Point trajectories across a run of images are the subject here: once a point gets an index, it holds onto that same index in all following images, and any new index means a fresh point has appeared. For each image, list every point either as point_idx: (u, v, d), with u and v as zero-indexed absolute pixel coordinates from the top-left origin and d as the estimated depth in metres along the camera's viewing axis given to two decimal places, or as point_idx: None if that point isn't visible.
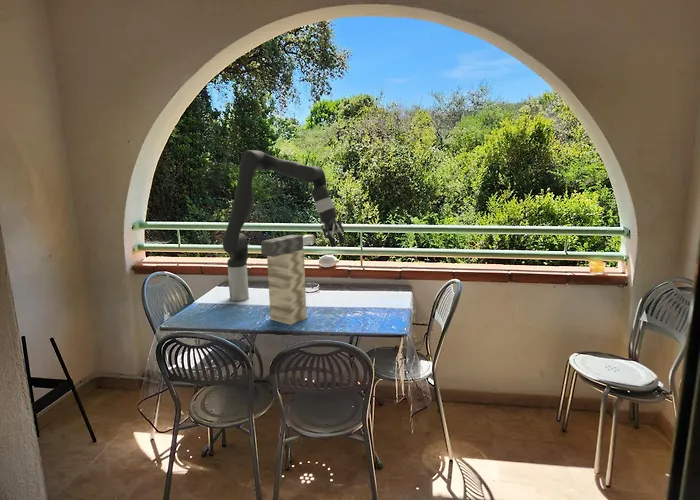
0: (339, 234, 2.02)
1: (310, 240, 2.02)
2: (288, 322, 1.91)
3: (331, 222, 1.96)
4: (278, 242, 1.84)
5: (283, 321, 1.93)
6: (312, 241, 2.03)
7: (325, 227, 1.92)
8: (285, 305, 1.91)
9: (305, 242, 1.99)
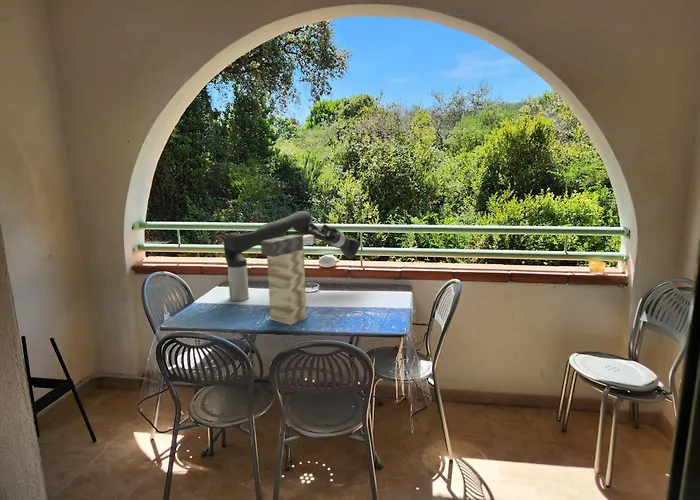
0: (315, 228, 2.25)
1: (310, 240, 2.02)
2: (288, 322, 1.91)
3: (329, 235, 2.27)
4: (278, 242, 1.84)
5: (283, 321, 1.93)
6: (312, 241, 2.03)
7: (337, 234, 2.23)
8: (285, 305, 1.91)
9: (305, 242, 1.99)
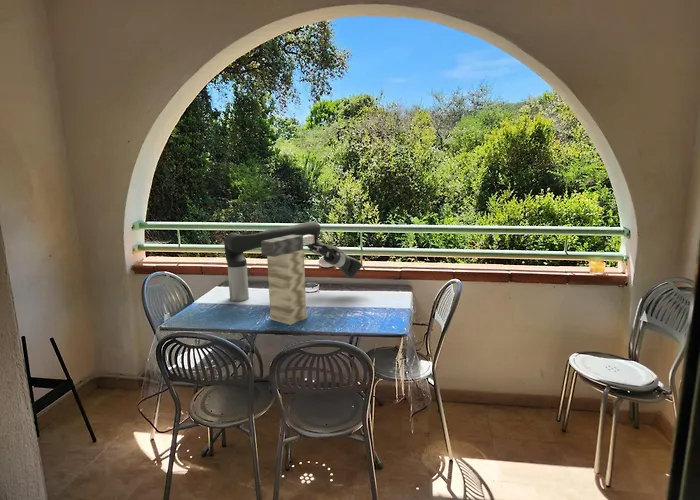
0: (313, 248, 2.13)
1: (310, 240, 2.02)
2: (288, 322, 1.91)
3: (329, 255, 2.15)
4: (278, 242, 1.84)
5: (283, 321, 1.93)
6: (312, 241, 2.03)
7: (337, 255, 2.11)
8: (285, 305, 1.91)
9: (305, 242, 1.99)
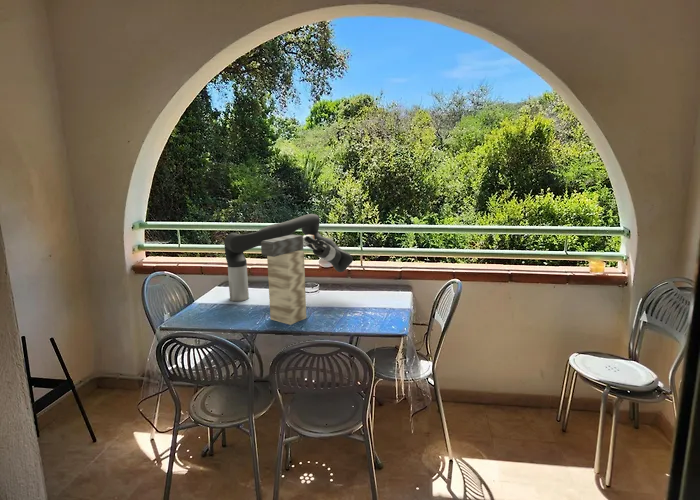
0: None
1: None
2: (288, 322, 1.91)
3: (318, 248, 2.08)
4: (278, 242, 1.84)
5: (283, 321, 1.93)
6: None
7: (323, 246, 2.03)
8: (285, 305, 1.91)
9: (305, 242, 1.99)
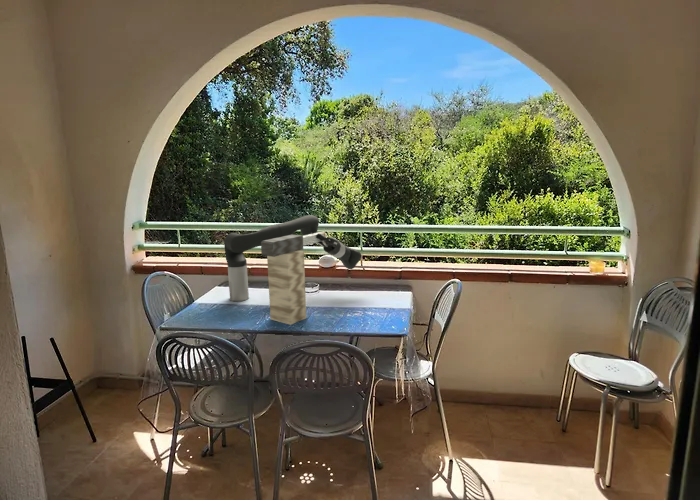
0: None
1: None
2: (288, 322, 1.91)
3: (329, 246, 2.14)
4: (278, 242, 1.84)
5: (283, 321, 1.93)
6: None
7: (334, 244, 2.09)
8: (285, 305, 1.91)
9: (316, 239, 2.05)
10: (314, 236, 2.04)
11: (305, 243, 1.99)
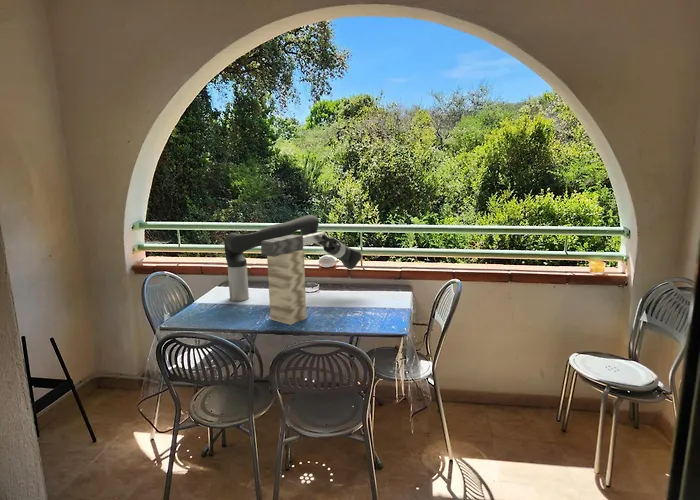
0: None
1: (321, 237, 2.08)
2: (288, 322, 1.91)
3: (329, 246, 2.14)
4: (278, 242, 1.84)
5: (283, 321, 1.93)
6: None
7: (337, 245, 2.10)
8: (285, 305, 1.91)
9: (317, 239, 2.05)
10: (314, 236, 2.04)
11: (305, 243, 1.99)
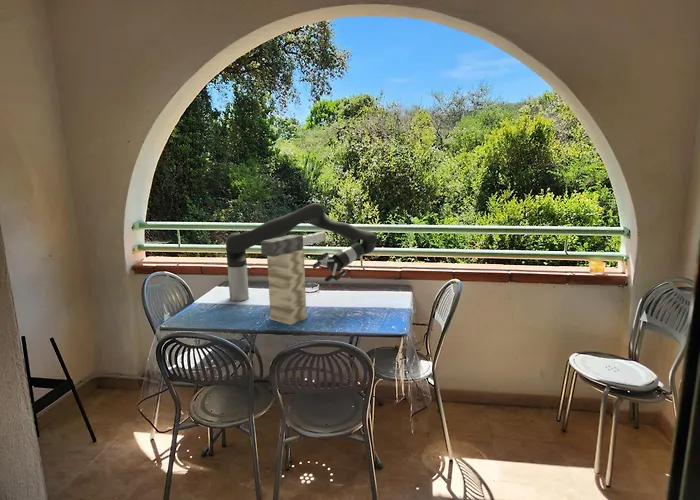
0: (320, 263, 2.12)
1: (321, 237, 2.08)
2: (288, 322, 1.91)
3: None
4: (278, 242, 1.84)
5: (283, 321, 1.93)
6: (323, 238, 2.09)
7: (343, 275, 2.11)
8: (285, 305, 1.91)
9: (317, 239, 2.05)
10: (314, 236, 2.04)
11: (305, 243, 1.99)
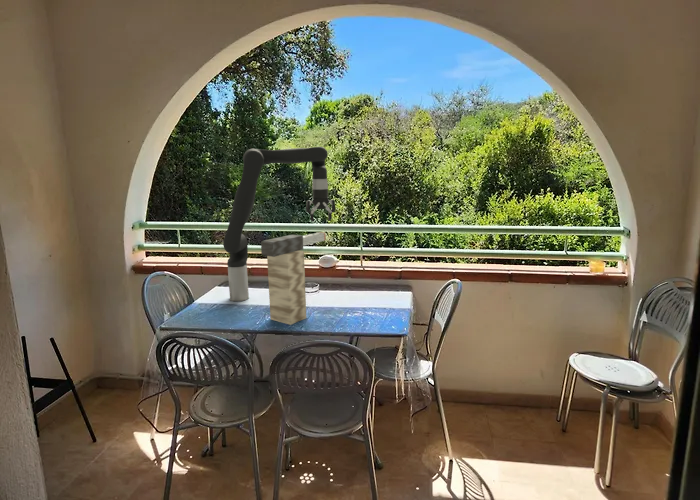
0: (312, 213, 2.24)
1: (321, 237, 2.08)
2: (288, 322, 1.91)
3: None
4: (278, 242, 1.84)
5: (283, 321, 1.93)
6: (323, 238, 2.09)
7: None
8: (285, 305, 1.91)
9: (317, 239, 2.05)
10: (314, 236, 2.04)
11: (305, 243, 1.99)
